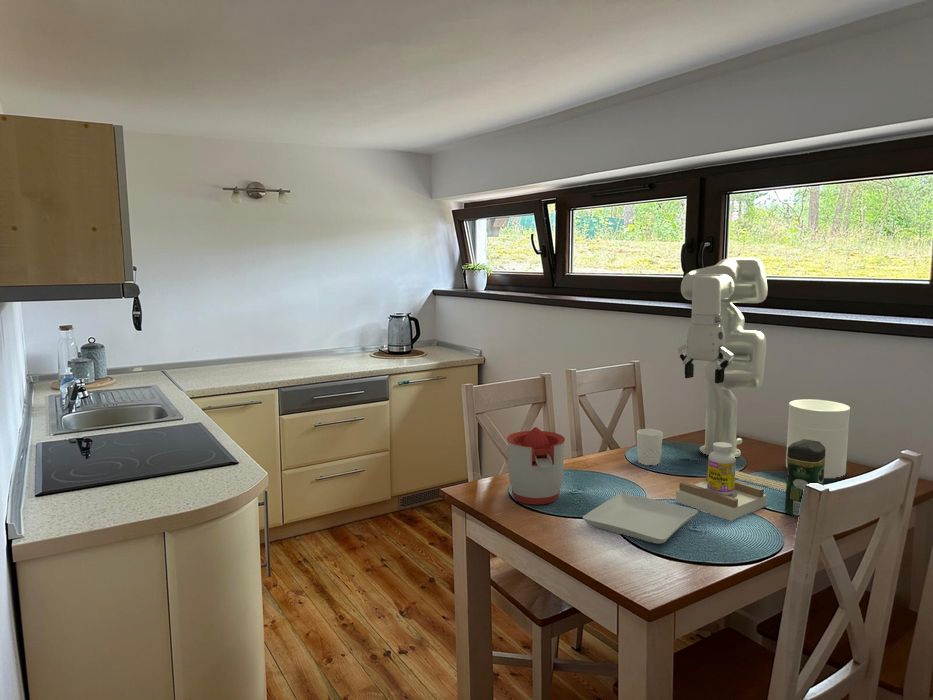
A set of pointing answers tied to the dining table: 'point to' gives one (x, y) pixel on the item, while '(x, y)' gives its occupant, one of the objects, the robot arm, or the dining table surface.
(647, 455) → the white cup
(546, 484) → the citrus juicer
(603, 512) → the salad plate
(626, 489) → the dining table surface
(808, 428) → the canister
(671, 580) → the dining table surface
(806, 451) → the coffee jar
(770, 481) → the wooden plank
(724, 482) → the supplement bottle
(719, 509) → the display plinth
